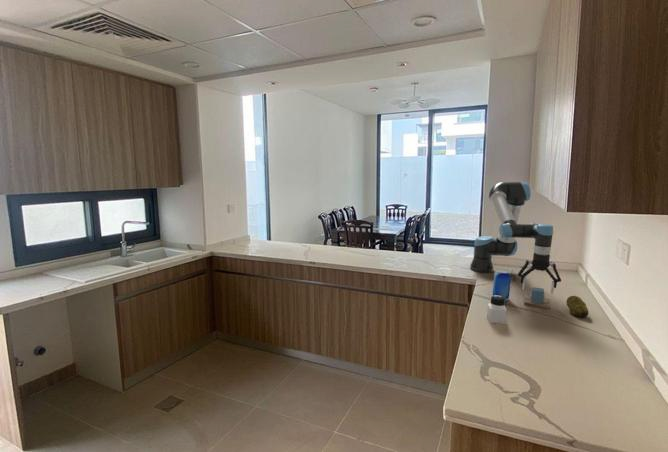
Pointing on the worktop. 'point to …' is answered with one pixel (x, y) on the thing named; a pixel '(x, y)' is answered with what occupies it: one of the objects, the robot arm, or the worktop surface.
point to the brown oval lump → (577, 306)
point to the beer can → (502, 283)
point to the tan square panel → (528, 302)
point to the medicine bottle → (497, 310)
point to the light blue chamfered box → (537, 295)
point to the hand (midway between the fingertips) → (537, 291)
